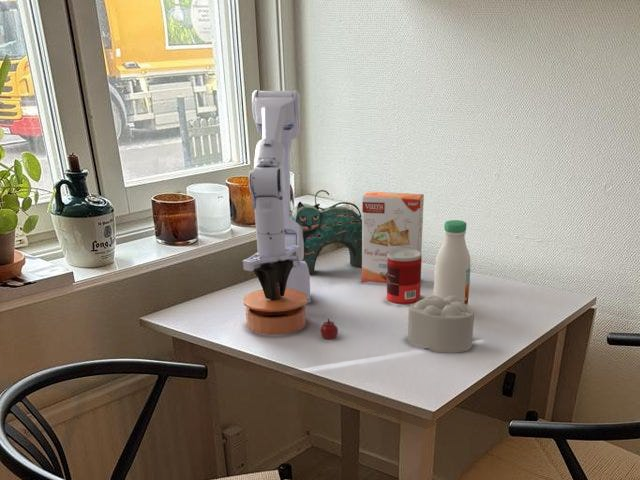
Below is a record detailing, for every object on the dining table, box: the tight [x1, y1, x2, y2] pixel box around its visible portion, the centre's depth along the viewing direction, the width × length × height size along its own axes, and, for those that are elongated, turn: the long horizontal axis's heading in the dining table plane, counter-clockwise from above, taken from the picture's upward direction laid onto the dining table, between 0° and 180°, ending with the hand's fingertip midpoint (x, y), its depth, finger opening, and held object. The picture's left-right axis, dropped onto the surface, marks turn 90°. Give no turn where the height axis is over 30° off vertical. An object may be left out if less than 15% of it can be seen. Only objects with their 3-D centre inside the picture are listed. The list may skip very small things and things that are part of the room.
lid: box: [242, 280, 308, 312], centre depth 154 cm, size 14×14×5 cm
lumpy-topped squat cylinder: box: [407, 294, 475, 354], centre depth 148 cm, size 10×13×9 cm
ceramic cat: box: [291, 189, 362, 275], centre depth 187 cm, size 20×6×20 cm, turn 115°
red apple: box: [320, 318, 339, 340], centre depth 150 cm, size 4×4×4 cm
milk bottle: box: [433, 219, 472, 306], centre depth 158 cm, size 8×8×20 cm
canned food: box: [386, 249, 423, 305], centre depth 168 cm, size 8×8×11 cm
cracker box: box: [361, 190, 425, 284], centre depth 178 cm, size 14×6×21 cm, turn 77°
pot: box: [245, 304, 307, 335], centre depth 157 cm, size 13×13×4 cm
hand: (274, 296), depth 155 cm, fingers closed on lid, 2 cm apart
